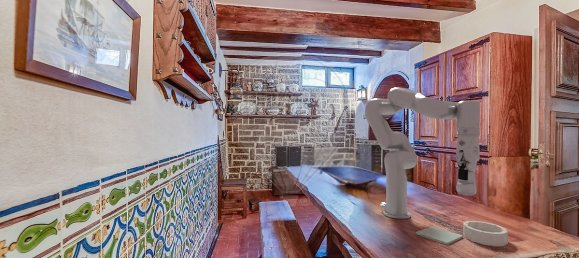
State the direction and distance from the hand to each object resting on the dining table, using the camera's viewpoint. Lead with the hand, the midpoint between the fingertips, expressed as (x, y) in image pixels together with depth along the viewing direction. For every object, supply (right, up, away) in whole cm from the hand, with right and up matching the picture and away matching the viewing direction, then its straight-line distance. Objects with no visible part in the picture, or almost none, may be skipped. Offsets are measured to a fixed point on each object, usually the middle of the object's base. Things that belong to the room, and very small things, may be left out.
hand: (466, 178), depth 103 cm
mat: (-10, -23, +1) cm, 25 cm away
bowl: (+6, -23, -1) cm, 24 cm away
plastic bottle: (0, -7, 0) cm, 7 cm away
